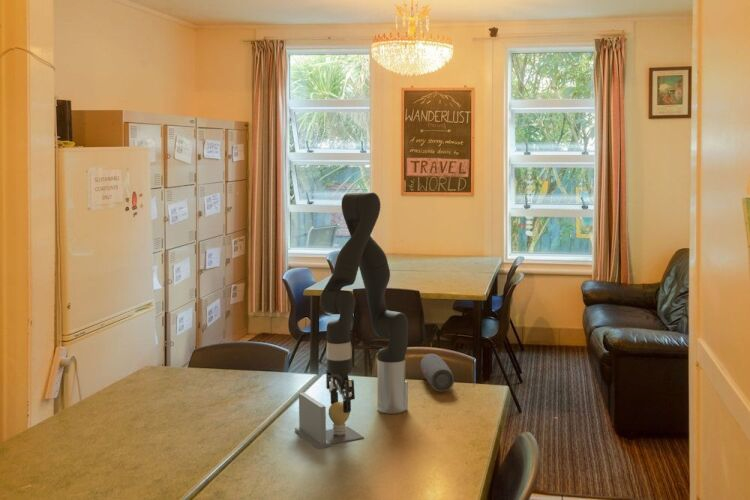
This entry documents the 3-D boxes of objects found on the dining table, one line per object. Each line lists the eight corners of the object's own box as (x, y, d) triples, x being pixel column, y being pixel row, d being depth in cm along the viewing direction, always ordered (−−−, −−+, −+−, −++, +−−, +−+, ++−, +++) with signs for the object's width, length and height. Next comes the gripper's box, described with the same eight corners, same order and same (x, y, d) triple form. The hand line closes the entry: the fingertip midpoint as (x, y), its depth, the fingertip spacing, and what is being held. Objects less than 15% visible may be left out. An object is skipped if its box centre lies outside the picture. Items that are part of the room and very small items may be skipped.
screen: (307, 428, 246) (306, 391, 244) (330, 446, 231) (330, 406, 229) (295, 431, 244) (294, 393, 242) (318, 448, 229) (317, 408, 228)
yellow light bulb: (347, 438, 236) (346, 406, 235) (326, 437, 237) (326, 404, 236) (352, 431, 242) (351, 399, 241) (331, 430, 243) (331, 398, 242)
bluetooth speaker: (418, 378, 302) (418, 352, 301) (442, 377, 303) (443, 351, 302) (429, 395, 279) (429, 368, 278) (455, 394, 280) (455, 367, 279)
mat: (347, 427, 247) (347, 426, 247) (363, 438, 237) (363, 437, 237) (315, 433, 242) (315, 432, 242) (330, 444, 232) (330, 443, 232)
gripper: (361, 359, 232) (362, 412, 234) (339, 348, 244) (341, 399, 247) (338, 363, 228) (340, 417, 231) (317, 352, 241) (319, 404, 243)
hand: (340, 408), depth 239 cm, fingers open, 8 cm apart
